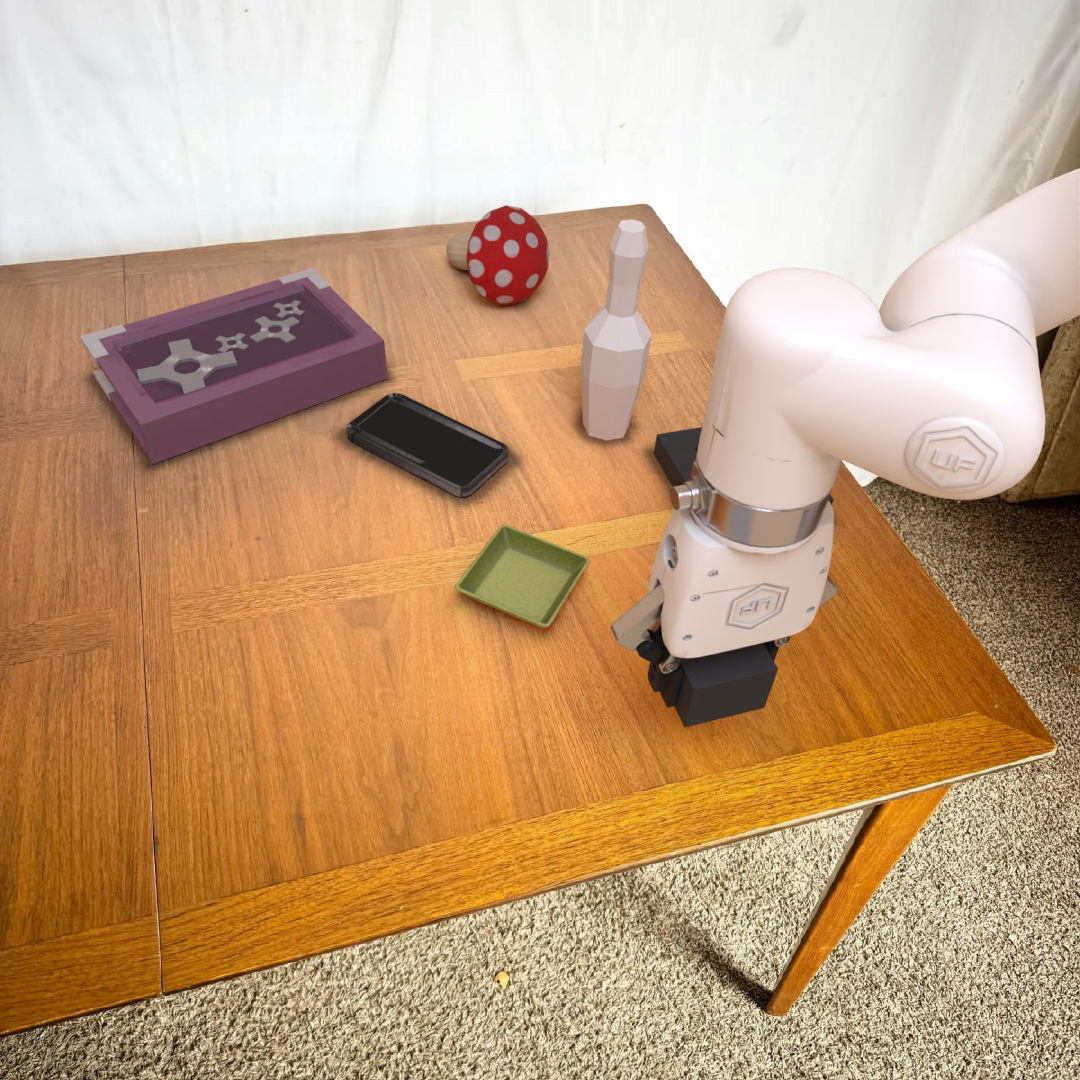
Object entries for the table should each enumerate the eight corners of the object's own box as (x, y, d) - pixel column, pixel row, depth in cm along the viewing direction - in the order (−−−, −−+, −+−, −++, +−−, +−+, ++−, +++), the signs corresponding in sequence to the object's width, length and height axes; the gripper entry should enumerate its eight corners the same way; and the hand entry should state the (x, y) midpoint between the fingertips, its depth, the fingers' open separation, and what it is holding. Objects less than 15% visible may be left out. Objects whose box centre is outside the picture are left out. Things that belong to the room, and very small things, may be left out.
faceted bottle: (635, 408, 100) (666, 210, 84) (637, 447, 96) (671, 247, 80) (574, 404, 100) (594, 205, 84) (574, 444, 96) (595, 242, 80)
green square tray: (590, 574, 84) (592, 557, 82) (546, 643, 78) (547, 627, 77) (501, 538, 86) (502, 522, 85) (453, 604, 81) (453, 587, 79)
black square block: (765, 708, 66) (778, 668, 62) (684, 728, 64) (694, 689, 61) (728, 641, 70) (739, 600, 66) (651, 659, 68) (658, 618, 65)
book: (317, 306, 110) (312, 267, 107) (388, 378, 102) (385, 339, 98) (94, 377, 99) (79, 336, 96) (151, 465, 90) (138, 423, 87)
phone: (393, 389, 98) (513, 447, 93) (393, 398, 99) (512, 456, 94) (340, 429, 94) (464, 492, 88) (342, 438, 94) (464, 501, 89)
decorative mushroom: (429, 188, 113) (507, 192, 103) (499, 219, 121) (579, 225, 110) (406, 282, 115) (480, 295, 104) (477, 306, 122) (553, 321, 112)
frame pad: (826, 518, 90) (834, 499, 88) (704, 542, 87) (709, 522, 85) (767, 434, 98) (772, 415, 97) (653, 453, 95) (656, 434, 94)
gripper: (639, 566, 49) (609, 754, 62) (929, 505, 53) (845, 694, 66) (591, 471, 54) (573, 664, 67) (860, 423, 58) (794, 614, 71)
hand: (708, 678), depth 67 cm, fingers closed on black square block, 6 cm apart
